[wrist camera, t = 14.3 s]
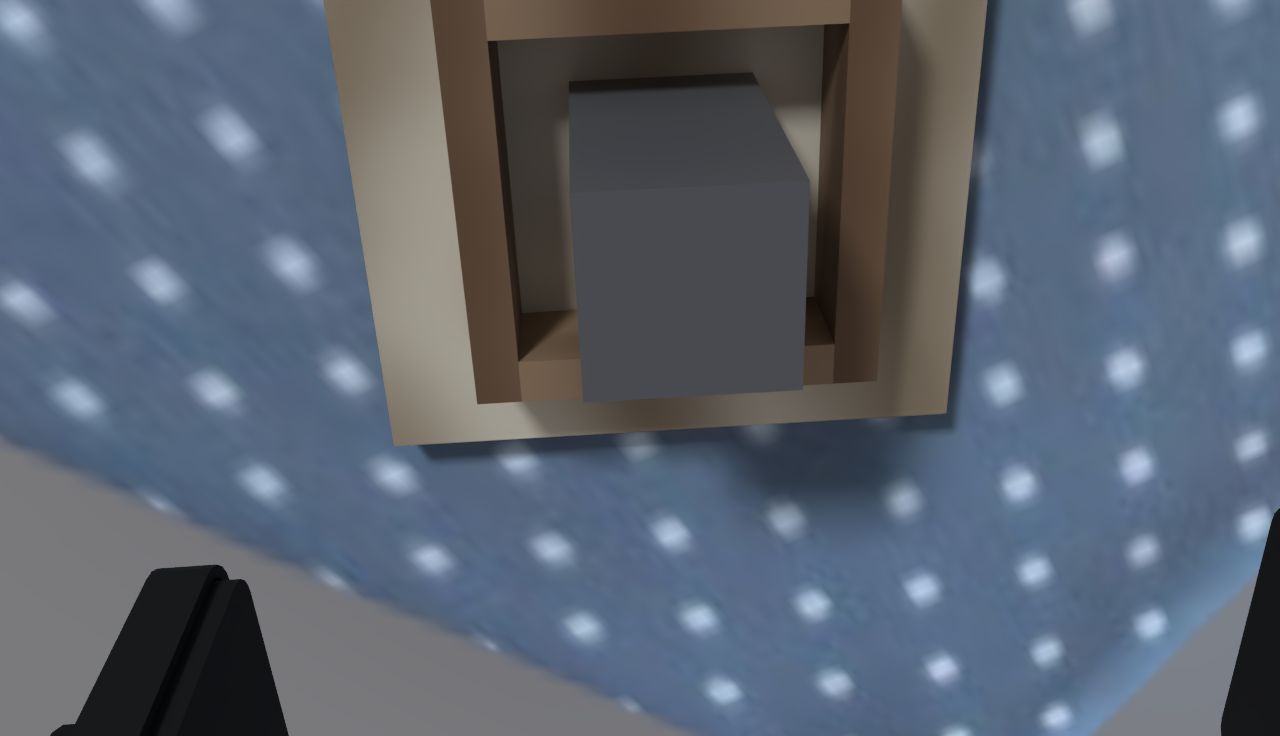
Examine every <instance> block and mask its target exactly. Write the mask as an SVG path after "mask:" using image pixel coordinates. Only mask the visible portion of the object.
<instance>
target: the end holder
mask: <svg viewBox="0 0 1280 736" xmlns="http://www.w3.org/2000/svg"><path fill="white" fill-rule="evenodd" d="M324 7H325V13H326V19H327V25H328V32H329V38H330V44H331V51H332V57H333V63H334V70H335V76H336V82H337V89H338V95H339V101H340V108H341V114H342V120H343V127H344V133H345V139H346V145H347V152H348V158H349V164H350V171H351V177H352V183H353V190H354V196H355V202H356V209H357V215H358V221H359V228H360V234H361V240H362V247H363V253H364V259H365V266H366V272H367V278H368V284H369V291H370V297H371V303H372V310H373V316H374V322H375V329H376V335H377V341H378V348H379V354H380V360H381V367H382V373H383V379H384V386H385V392H386V398H387V404H388V411H389V417H390V423H391V430H392V436H393V442H394V446H406V445H423V444H440V443H457V442H474V441H491V440H508V439H525V438H542V437H559V436H576V435H593V434H610V433H627V432H644V431H661V430H678V429H695V428H712V427H728V426H745V425H762V424H779V423H796V422H813V421H830V420H847V419H864V418H881V417H898V416H915V415H932V414H946V411H947V401H948V391H949V381H950V371H951V361H952V351H953V341H954V331H955V321H956V311H957V301H958V291H959V281H960V271H961V261H962V251H963V241H964V231H965V221H966V211H967V201H968V191H969V181H970V171H971V161H972V151H973V141H974V131H975V121H976V111H977V101H978V91H979V81H980V71H981V61H982V50H983V40H984V30H985V20H986V10H987V0H324ZM748 72H753V74H754V76H755V78H756V80H757V82H758V83H759V85H760V87H761V89H762V91H763V93H764V95H765V97H766V99H767V100H768V102H769V104H770V106H771V108H772V110H773V112H774V114H775V116H776V117H777V119H778V121H779V123H780V125H781V127H782V129H783V131H784V133H785V134H786V136H787V138H788V140H789V142H790V144H791V146H792V148H793V150H794V151H795V153H796V155H797V157H798V159H799V161H800V163H801V165H802V167H803V168H804V170H805V172H806V174H807V176H808V178H809V180H810V196H809V226H808V255H807V284H806V314H805V343H804V373H803V390H796V391H778V392H761V393H744V394H726V395H709V396H691V397H674V398H657V399H639V400H622V401H605V402H587V403H583V389H582V374H581V360H580V345H579V330H578V315H577V300H576V285H575V270H574V255H573V240H572V225H571V210H570V195H569V81H586V80H607V79H627V78H647V77H667V76H687V75H708V74H728V73H748Z"/></svg>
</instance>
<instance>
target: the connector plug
mask: <svg viewBox="0 0 1280 736" xmlns="http://www.w3.org/2000/svg"><path fill="white" fill-rule="evenodd" d="M569 195H570V210H571V225H572V240H573V255H574V270H575V285H576V300H577V315H578V330H579V345H580V360H581V374H582V389H583V403H587V402H605V401H622V400H639V399H657V398H674V397H691V396H709V395H726V394H744V393H761V392H778V391H796V390H803V373H804V343H805V314H806V284H807V255H808V226H809V196H810V180H809V178H808V176H807V174H806V172H805V170H804V168H803V167H802V165H801V163H800V161H799V159H798V157H797V155H796V153H795V151H794V150H793V148H792V146H791V144H790V142H789V140H788V138H787V136H786V134H785V133H784V131H783V129H782V127H781V125H780V123H779V121H778V119H777V117H776V116H775V114H774V112H773V110H772V108H771V106H770V104H769V102H768V100H767V99H766V97H765V95H764V93H763V91H762V89H761V87H760V85H759V83H758V82H757V80H756V78H755V76H754V74H753V72H748V73H728V74H708V75H687V76H667V77H647V78H627V79H607V80H586V81H569Z"/></svg>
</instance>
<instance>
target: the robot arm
mask: <svg viewBox="0 0 1280 736" xmlns="http://www.w3.org/2000/svg"><path fill="white" fill-rule="evenodd" d="M50 736H289V735H288V731H287V728H286V724H285V720H284V716H283V712H282V709H281V705H280V702H279V697H278V694H277V690H276V686H275V682H274V679H273V675H272V671H271V667H270V664H269V660H268V656H267V652H266V649H265V645H264V641H263V637H262V633H261V630H260V626H259V623H258V618H257V615H256V611H255V608H254V604H253V600H252V596H251V592H250V589H249V587H248V584H247V583H246V582H245V580H242V579H236V580H229V578H228V575H227V573H226V571H225V570H224V568H223V567H222V566H220V565H204V566H191V567H175V568H161V569H156V570H154V571H152V572H151V574H150V575H149V577H148V578H147V579H146V581H145V583H144V586H143V588H142V590H141V592H140V594H139V596H138V598H137V600H136V602H135V604H134V606H133V608H132V610H131V612H130V614H129V616H128V618H127V620H126V622H125V624H124V626H123V628H122V630H121V632H120V634H119V636H118V638H117V640H116V642H115V644H114V646H113V649H112V650H111V652H110V654H109V656H108V659H107V661H106V663H105V665H104V667H103V669H102V671H101V673H100V675H99V677H98V679H97V681H96V683H95V685H94V687H93V689H92V691H91V693H90V695H89V697H88V699H87V701H86V703H85V705H84V707H83V709H82V711H81V713H80V715H79V717H78V719H77V721H76V723H75V724H69V725H62V726H61V727H59V728H58V729H57V730H55V731H54V732H52V734H51V735H50ZM1221 736H1280V508H1279V509H1278V510H1277V512H1276V513H1275V514H1274V517H1273V519H1272V522H1271V526H1270V530H1269V534H1268V538H1267V542H1266V546H1265V550H1264V554H1263V558H1262V562H1261V566H1260V569H1259V573H1258V577H1257V581H1256V586H1255V589H1254V594H1253V598H1252V601H1251V605H1250V609H1249V613H1248V617H1247V621H1246V625H1245V629H1244V633H1243V637H1242V641H1241V645H1240V649H1239V653H1238V657H1237V660H1236V665H1235V669H1234V672H1233V676H1232V681H1231V684H1230V688H1229V692H1228V696H1227V700H1226V704H1225V708H1224V712H1223V716H1222V722H1221Z"/></svg>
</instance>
